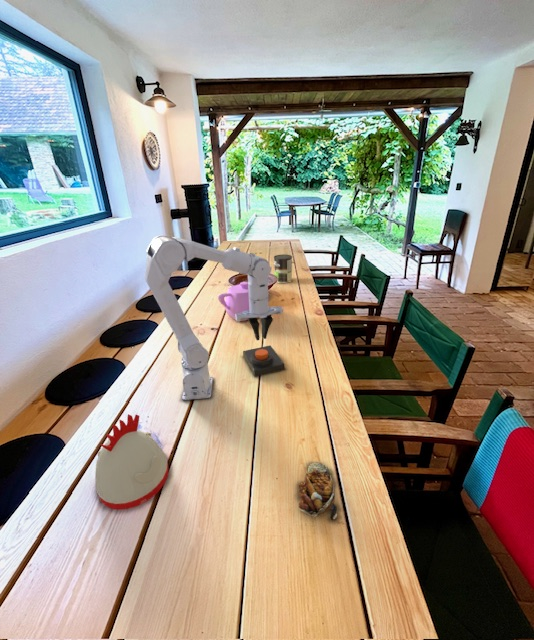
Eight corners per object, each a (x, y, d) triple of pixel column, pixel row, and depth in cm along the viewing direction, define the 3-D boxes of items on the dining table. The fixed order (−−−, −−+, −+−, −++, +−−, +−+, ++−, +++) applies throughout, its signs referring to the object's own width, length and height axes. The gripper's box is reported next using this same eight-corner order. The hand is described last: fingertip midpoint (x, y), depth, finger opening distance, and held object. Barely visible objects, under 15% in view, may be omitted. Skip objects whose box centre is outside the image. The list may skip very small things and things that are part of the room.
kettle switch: (284, 369, 102) (284, 358, 100) (254, 376, 99) (254, 365, 98) (270, 350, 113) (270, 340, 112) (243, 356, 110) (242, 346, 109)
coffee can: (279, 284, 180) (278, 259, 174) (271, 279, 189) (270, 255, 183) (295, 281, 184) (295, 257, 178) (286, 276, 192) (286, 253, 187)
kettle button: (269, 358, 102) (269, 353, 101) (257, 361, 100) (257, 356, 100) (265, 352, 105) (265, 348, 104) (253, 355, 104) (253, 350, 103)
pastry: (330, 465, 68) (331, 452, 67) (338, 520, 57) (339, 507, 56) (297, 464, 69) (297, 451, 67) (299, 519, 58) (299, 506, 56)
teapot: (213, 315, 144) (209, 283, 137) (254, 305, 153) (252, 274, 147) (236, 334, 126) (232, 298, 119) (281, 321, 135) (280, 287, 129)
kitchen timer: (182, 467, 69) (170, 412, 63) (128, 522, 59) (108, 462, 52) (139, 443, 76) (124, 392, 70) (83, 489, 65) (61, 433, 59)
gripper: (238, 305, 89) (241, 348, 94) (286, 297, 93) (287, 339, 99) (232, 297, 95) (235, 338, 100) (277, 290, 99) (278, 329, 105)
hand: (260, 338), depth 100 cm, fingers closed
